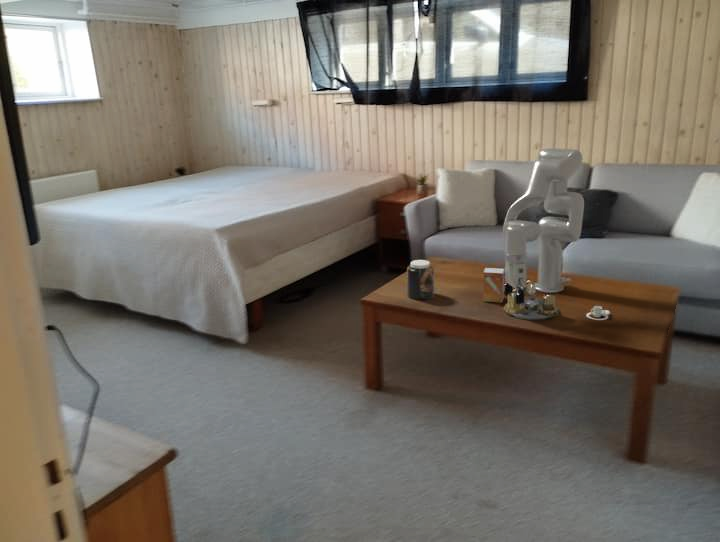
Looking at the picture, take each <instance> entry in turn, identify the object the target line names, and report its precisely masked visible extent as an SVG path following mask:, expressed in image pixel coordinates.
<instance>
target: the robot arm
mask: <svg viewBox="0 0 720 542" xmlns="http://www.w3.org/2000/svg"><path fill="white" fill-rule="evenodd" d="M582 163H583V154H582V152H580V151H579V150H578V149H573V148H569V149H568V148H543V149H541V150H540V151H539V152H538V156H537V160H535V161H534V162H533V164H532V166H531V169H530V172H529V173H530V174H529V176H528V180H527V184H526V186H525V187H526V188H525V191H524V193H523V194H522V196H520V197H518V199H517V200H515V201H514V203H512V205H510V207H509V208H508V210H507V213H506V215H505V218H504V222H503V227H502V233H503V235H504V237H505V255H504V256H505V257H504V258H505V265H504V269H505V270H504V296H507V297H508V294H509V293H513V291H514V289H515V291H516V292H515V293H517V294H516V304H522V303H524V299H525V294H526V291H527V281H528V280H527V266H526V265H527V264H526V257H527V256H526V254H527V243H530V242H531V243H532V242H535V241H536V240H538V261H537V262H538V263H537V282H535V283H533V284H534V285H535V290H536V291H538V292H543V293H549V294H551V293H560V292H562V291H563V290H564V289H565V286H564V284H569V283H571V282H572V279H571V278H568V277H567V278H566V277H561V276H562V260H563V248H562V245H561V243H560V241H561V242H565V243H566V242H567V243H575V242H577V241H578V240H579V239H580V237H581V233H582V226H583V218H584V211H585V210H584V209H585V199H584V197H583V195H582V194H581V193H579V192H574V191H568V182H569V179H570V178H572V176H573V175H574V174H576V172H578V170H579V169H580V168H581V165H582ZM541 203H543V209H544V211H545V212H547V213H549V214H555V215H562V216H568V218H565V217H560V216H544V217H542V218H540V219H539V220H538V223H537V222H534V221H530V220H529V221H528V220H520V219H517V218H518V216H519V215H520V213H521V212H523V211H525V210H526V209H528V208H530V207H533V206H536V205H539V204H541Z"/></svg>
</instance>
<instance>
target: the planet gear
mask: <svg viewBox="0 0 720 542" xmlns="http://www.w3.org/2000/svg"><path fill="white" fill-rule="evenodd" d="M513 293H516V294H517V292H513ZM507 303H508V304H507ZM507 303H505V305H503V311H505V313H507V314H508V313H513V314H516V313H522V311H524V306H521V304H516V296H512V293H509V294H508V295H507Z"/></svg>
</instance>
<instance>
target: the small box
mask: <svg viewBox="0 0 720 542" xmlns="http://www.w3.org/2000/svg"><path fill="white" fill-rule="evenodd" d="M504 272H505V268H496V267H485V268H484V271H483V276H482V278H483V279H482V281H483V283H482V302H487V303H488V302H489V303H500V304H501V303H503V301H504V296H505V284H504V283H505V280H504Z"/></svg>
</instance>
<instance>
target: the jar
mask: <svg viewBox="0 0 720 542" xmlns="http://www.w3.org/2000/svg"><path fill="white" fill-rule="evenodd" d="M430 262H431V261H429V260H425V259H415V260H412V261H411V262H410V264H409V265H408V266H407V268H406V292H407V294H406V295H407V297H408V298H409V299H411V300H416V301H427V300H430V299H433V298H434V297H435V270H434V266H433V265H431V263H430Z"/></svg>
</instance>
